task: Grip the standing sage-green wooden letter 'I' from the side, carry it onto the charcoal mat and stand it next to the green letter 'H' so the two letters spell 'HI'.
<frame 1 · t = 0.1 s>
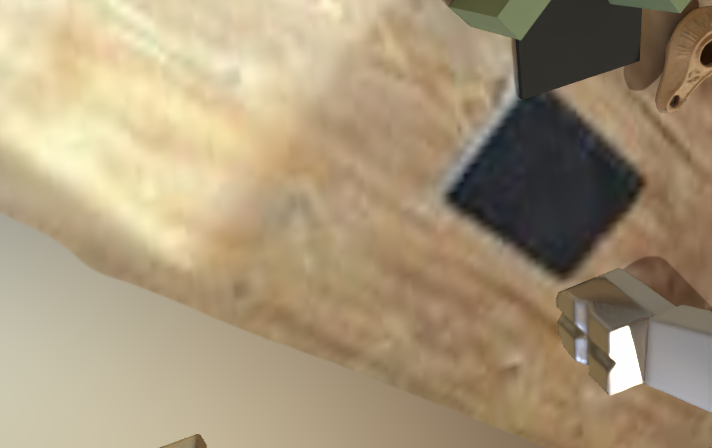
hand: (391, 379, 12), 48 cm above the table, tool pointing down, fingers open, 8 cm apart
pottery oil lamp: (669, 56, 69), on the table
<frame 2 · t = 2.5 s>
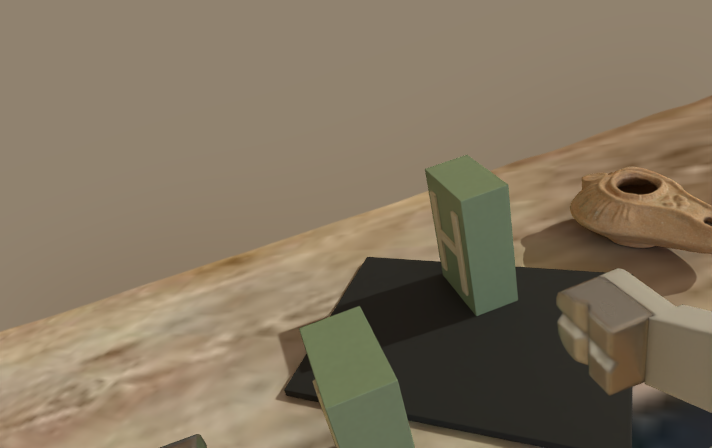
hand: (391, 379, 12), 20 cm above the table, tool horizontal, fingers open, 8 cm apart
word mat: (464, 336, 40), on the table
pottery oil lamp: (647, 245, 45), on the table
letter H: (478, 287, 44), point 1 cm above the table, touching word mat
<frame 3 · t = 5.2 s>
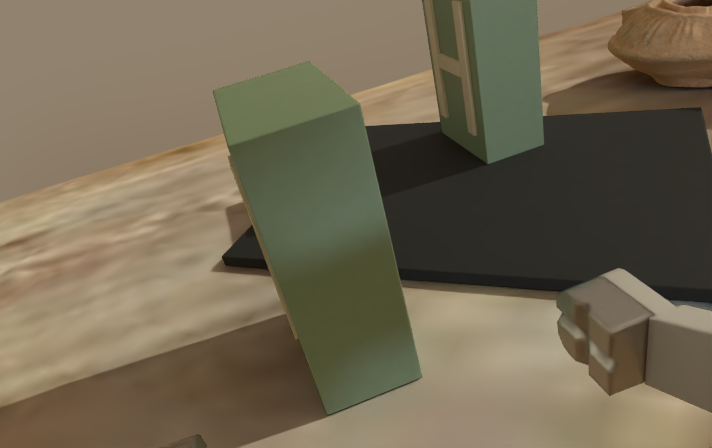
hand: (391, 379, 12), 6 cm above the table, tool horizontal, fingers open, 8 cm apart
word mat: (471, 188, 29), on the table
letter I: (351, 342, 21), on the table
letter H: (489, 138, 33), point 1 cm above the table, touching word mat
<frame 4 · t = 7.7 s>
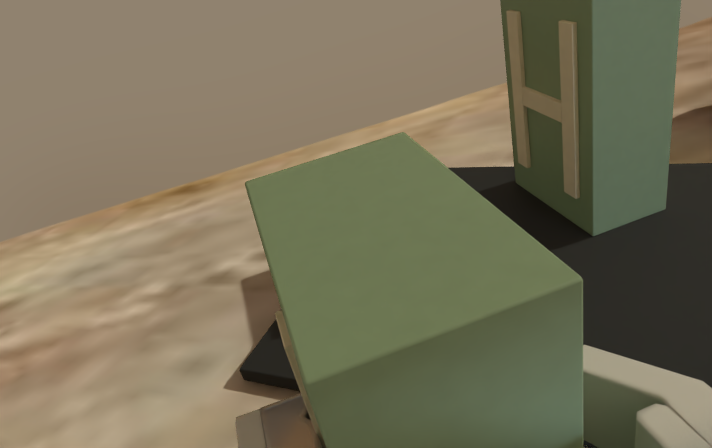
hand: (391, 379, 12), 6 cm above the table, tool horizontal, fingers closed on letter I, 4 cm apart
word mat: (574, 271, 22), on the table
letter H: (583, 194, 25), point 1 cm above the table, touching word mat
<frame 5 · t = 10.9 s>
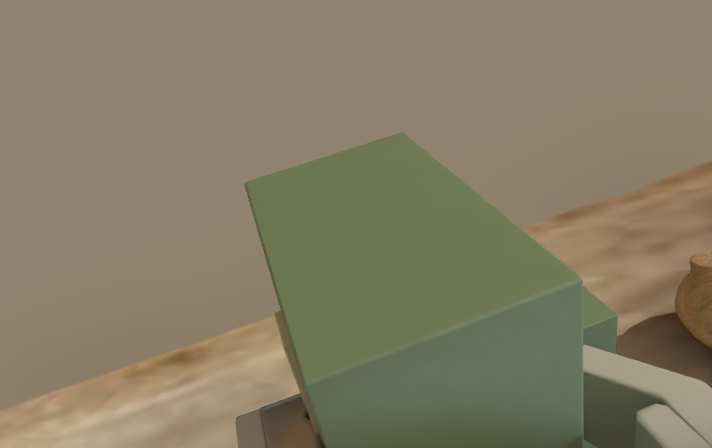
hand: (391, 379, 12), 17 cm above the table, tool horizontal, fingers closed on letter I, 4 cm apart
letter H: (541, 441, 28), point 1 cm above the table, touching word mat
when the fingers open (6 cm above the table, at t = 14.4 s): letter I stays where it is, resting on word mat.
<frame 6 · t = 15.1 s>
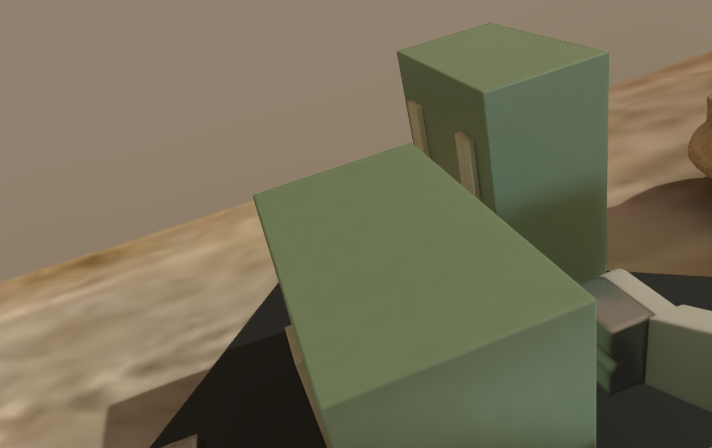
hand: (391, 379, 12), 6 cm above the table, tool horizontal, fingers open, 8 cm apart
word mat: (487, 430, 17), on the table
letter H: (513, 312, 21), point 1 cm above the table, touching word mat
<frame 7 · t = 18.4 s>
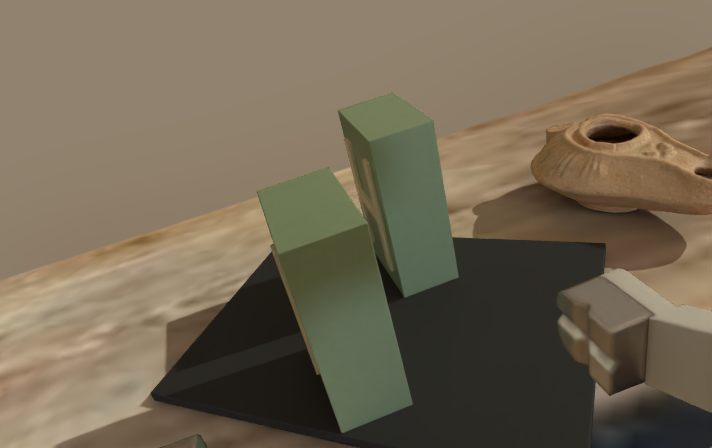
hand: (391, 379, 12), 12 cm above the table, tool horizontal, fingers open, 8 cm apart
word mat: (387, 323, 31), on the table
pottery oil lamp: (625, 209, 36), on the table
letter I: (359, 375, 28), point 1 cm above the table, touching word mat
letter H: (412, 262, 35), point 1 cm above the table, touching word mat
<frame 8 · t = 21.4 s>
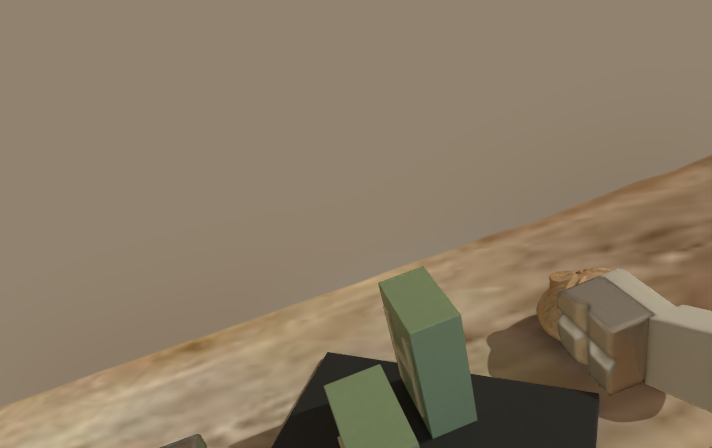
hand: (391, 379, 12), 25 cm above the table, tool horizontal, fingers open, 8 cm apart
pottery oil lamp: (616, 352, 43), on the table
letter H: (438, 399, 41), point 1 cm above the table, touching word mat
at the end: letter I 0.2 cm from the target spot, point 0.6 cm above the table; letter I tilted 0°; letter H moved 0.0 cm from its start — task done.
